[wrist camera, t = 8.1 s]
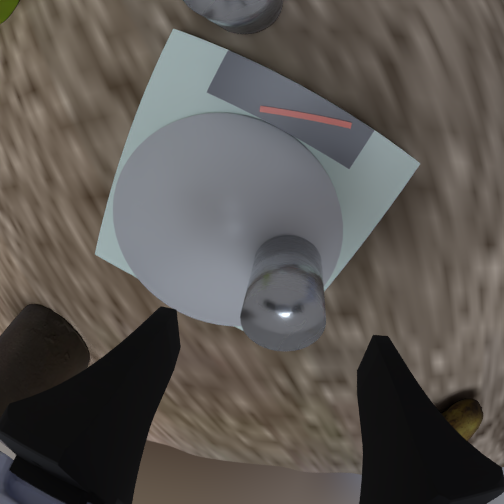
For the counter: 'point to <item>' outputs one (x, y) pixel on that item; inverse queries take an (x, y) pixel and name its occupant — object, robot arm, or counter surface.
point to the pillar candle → (38, 354)
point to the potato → (465, 417)
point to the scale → (238, 179)
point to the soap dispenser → (7, 8)
